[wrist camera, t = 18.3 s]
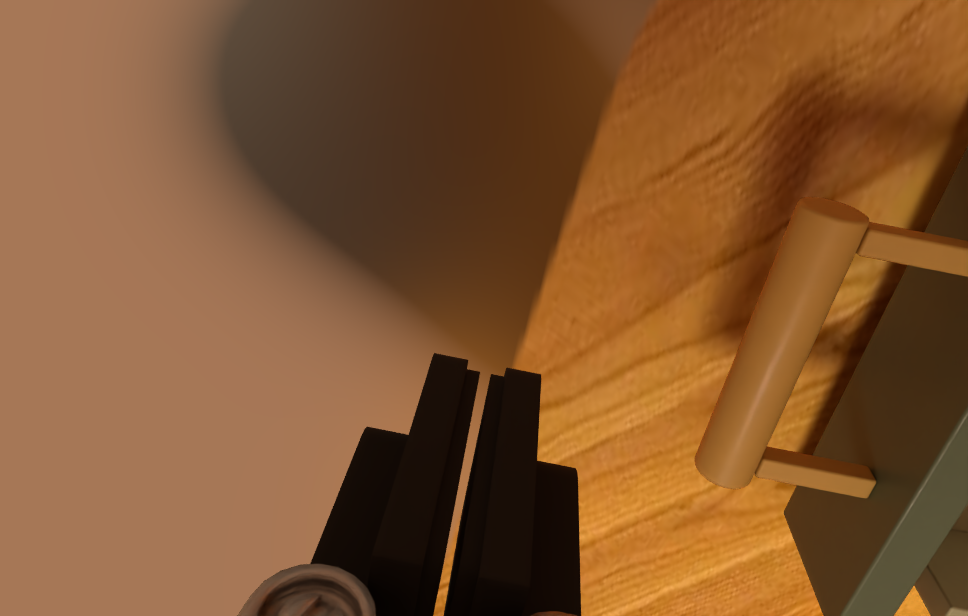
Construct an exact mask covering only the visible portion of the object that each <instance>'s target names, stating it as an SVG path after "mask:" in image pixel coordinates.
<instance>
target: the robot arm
mask: <svg viewBox="0 0 968 616" xmlns="http://www.w3.org/2000/svg"><path fill="white" fill-rule="evenodd" d="M467 365H468V360H466V359H461V358H455V357H450V356H446V355H441V354H436V353H434V355H433V357H432V361H431V364H430V367H429V370H428V374H427V377H426V380H425V383H424V387H423V390H422V393H421V396H420V400H419V403H418V406H417V410H416V413H415V416H414V419H413V423H412V426H411V429H410V432H409V435H406V434H401V433H396V432H391V431H386V430H381V429H376V428H371V427H366V428H365V430H364V432H363V434H362V436H361V438H360V441H359V444H358V446H357V448H356V451H355V453H354V456H353V459H352V461H351V464H350V466H349V468H348V471H347V473H346V476H345V478H344V481H343V483H342V486H341V488H340V491H339V493H338V496H337V499H336V501H335V504H334V506H333V509H332V511H331V514H330V516H329V518H328V521H327V524H326V526H325V529H324V531H323V534H322V536H321V539H320V541H319V544H318V546H317V549H316V551H315V554H314V556H313V559H312V562H311V564H304V565H298V566H295V567H291V568H288V569H285V570H282V571H280V572H278V573H276V574H275V575H273V576H272V577H270V578H268V579H267V580H265V581H264V582H263V583H262V584H261V585H260V586H259V587H258V588H257V589H256V590H255V592H254V593H253V594H252V595H251V596H250V597H249V599H248V600H247V602H246V603H245V605H244V606H243V608H242V610H241V611H240V612H239V614H238V615H237V616H433V613H434V608H435V603H436V599H437V594H438V589H439V584H440V579H441V574H442V569H443V564H444V558H445V553H446V548H447V543H448V538H449V531H450V527H451V522H452V516H453V511H454V506H455V501H456V495H457V490H458V485H459V480H460V474H461V469H462V464H463V458H464V453H465V448H466V443H467V437H468V433H469V427H470V422H471V417H472V411H473V406H474V401H475V396H476V391H477V385H478V380H479V374H480V372H478V371H473V370H468V369H467ZM540 391H541V374H536V373H531V372H526V371H521V370H516V369H511V368H506V371H505V375H504V377H503V376H498V375H493V374H491V377H490V381H489V386H488V391H487V396H486V400H485V405H484V410H483V415H482V419H481V425H480V429H479V434H478V438H477V443H476V448H475V453H474V457H473V463H472V467H471V472H470V476H469V481H468V486H467V490H466V495H465V500H464V505H463V510H462V515H461V520H460V526H459V532H458V537H457V543H456V549H455V554H454V560H453V566H452V571H451V577H450V583H449V588H448V594H447V600H446V605H445V611H444V616H581V593H580V549H579V506H578V475H577V470H576V468H571V467H566V466H561V465H556V464H551V463H546V462H541V461H537V448H538V429H539V410H540Z"/></svg>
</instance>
